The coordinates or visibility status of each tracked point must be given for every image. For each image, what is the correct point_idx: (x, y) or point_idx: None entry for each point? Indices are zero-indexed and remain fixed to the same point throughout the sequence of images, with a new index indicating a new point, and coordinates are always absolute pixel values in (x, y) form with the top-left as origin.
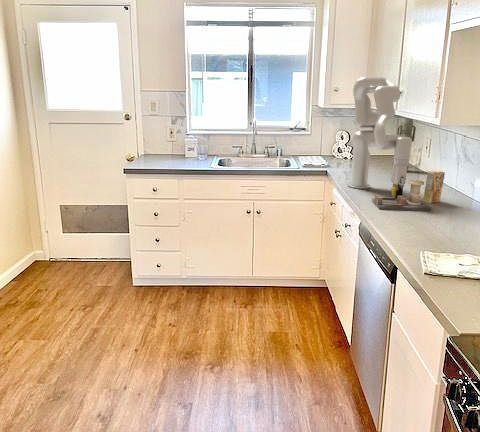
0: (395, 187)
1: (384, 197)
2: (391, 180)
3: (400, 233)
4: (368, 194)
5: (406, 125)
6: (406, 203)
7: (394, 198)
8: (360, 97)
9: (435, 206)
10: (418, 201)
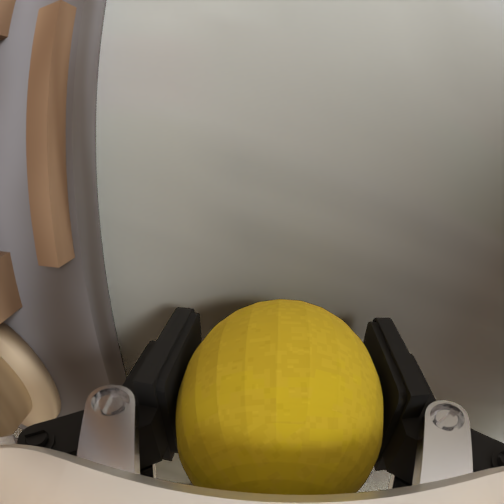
0: (208, 428)
1: (41, 104)
2: (489, 501)
3: None
4: (492, 33)
5: None
6: None
7: (38, 249)
8: None
9: None
10: (26, 418)
